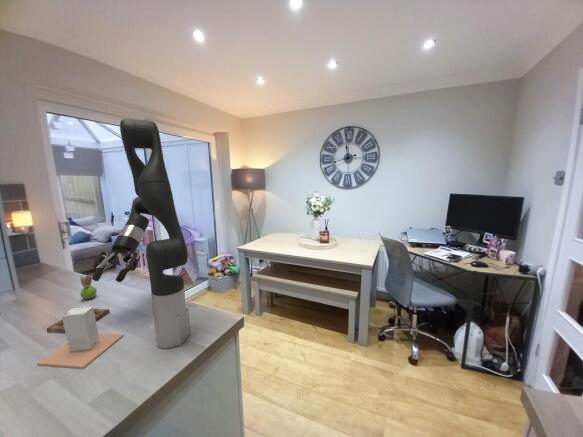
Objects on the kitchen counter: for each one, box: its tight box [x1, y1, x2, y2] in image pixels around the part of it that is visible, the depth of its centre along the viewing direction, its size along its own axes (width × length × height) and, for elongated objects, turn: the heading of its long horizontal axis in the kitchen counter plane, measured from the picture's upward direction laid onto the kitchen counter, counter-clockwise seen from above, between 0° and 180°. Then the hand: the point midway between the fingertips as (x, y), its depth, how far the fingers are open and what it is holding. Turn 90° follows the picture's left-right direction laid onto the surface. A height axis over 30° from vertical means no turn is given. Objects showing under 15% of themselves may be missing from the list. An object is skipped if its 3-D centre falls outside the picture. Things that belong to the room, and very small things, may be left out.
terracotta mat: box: [36, 332, 125, 370], centre depth 72 cm, size 14×14×1 cm
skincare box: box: [61, 306, 99, 352], centre depth 71 cm, size 6×4×12 cm
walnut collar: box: [46, 308, 110, 334], centre depth 86 cm, size 11×13×2 cm
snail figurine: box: [79, 274, 98, 300], centre depth 102 cm, size 5×6×12 cm
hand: (106, 280), depth 79 cm, fingers open, 8 cm apart
